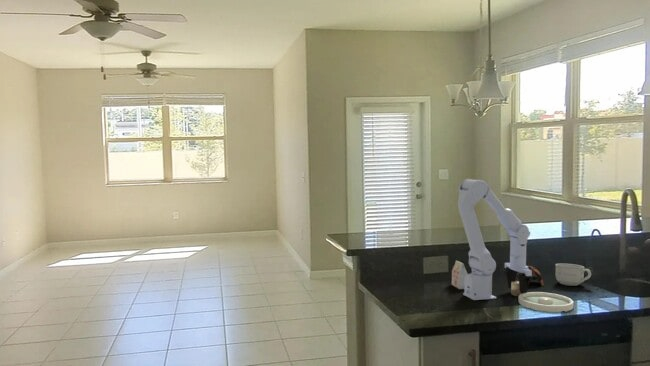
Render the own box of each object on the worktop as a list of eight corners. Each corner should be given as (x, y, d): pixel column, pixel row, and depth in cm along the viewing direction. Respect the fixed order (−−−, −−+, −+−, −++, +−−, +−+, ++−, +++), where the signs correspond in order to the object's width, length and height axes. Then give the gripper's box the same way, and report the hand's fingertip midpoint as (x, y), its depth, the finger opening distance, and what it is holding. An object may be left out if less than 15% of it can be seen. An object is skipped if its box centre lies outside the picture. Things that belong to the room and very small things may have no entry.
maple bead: (515, 296, 196) (515, 284, 196) (508, 293, 200) (508, 281, 200) (525, 295, 197) (526, 283, 197) (518, 292, 201) (519, 281, 201)
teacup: (549, 282, 216) (549, 263, 216) (567, 280, 221) (568, 261, 220) (578, 290, 204) (578, 270, 203) (597, 287, 208) (597, 267, 208)
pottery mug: (544, 289, 208) (533, 271, 208) (522, 296, 213) (511, 278, 213) (547, 275, 218) (537, 258, 218) (526, 282, 223) (516, 265, 223)
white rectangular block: (460, 284, 213) (460, 260, 213) (467, 288, 207) (467, 263, 206) (451, 284, 213) (451, 260, 212) (458, 289, 206) (459, 264, 206)
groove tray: (539, 313, 175) (539, 307, 175) (509, 299, 192) (509, 293, 192) (584, 309, 179) (584, 304, 179) (550, 296, 196) (551, 290, 196)
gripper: (539, 258, 191) (538, 294, 192) (516, 251, 206) (515, 285, 206) (522, 259, 190) (521, 296, 191) (500, 251, 204) (499, 286, 205)
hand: (517, 290), depth 198 cm, fingers open, 7 cm apart
